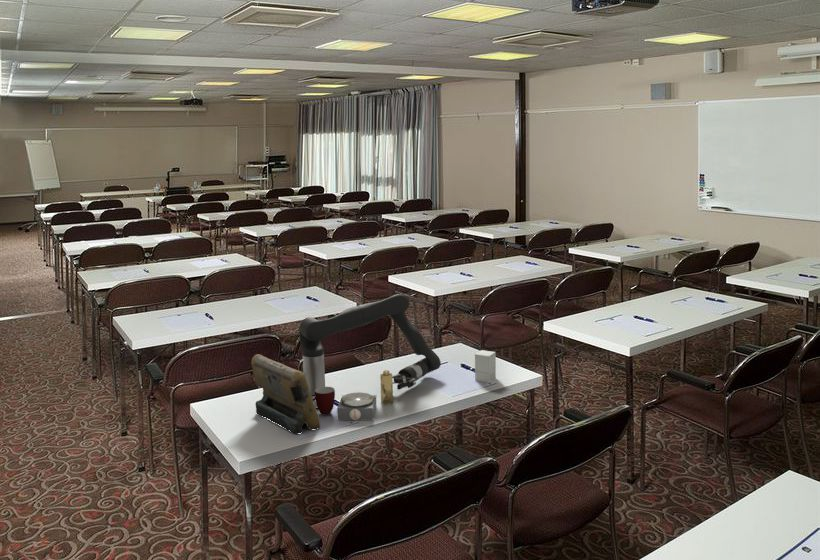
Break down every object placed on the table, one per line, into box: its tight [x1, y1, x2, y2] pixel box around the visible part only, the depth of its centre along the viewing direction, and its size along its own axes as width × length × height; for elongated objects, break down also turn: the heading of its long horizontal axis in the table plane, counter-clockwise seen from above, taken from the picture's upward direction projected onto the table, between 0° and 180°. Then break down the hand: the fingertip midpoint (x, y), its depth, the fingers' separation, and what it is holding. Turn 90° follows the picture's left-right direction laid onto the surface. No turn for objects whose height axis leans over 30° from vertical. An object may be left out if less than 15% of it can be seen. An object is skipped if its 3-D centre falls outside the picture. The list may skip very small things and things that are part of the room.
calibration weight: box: [379, 369, 394, 405], centre depth 284 cm, size 5×5×14 cm
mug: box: [312, 386, 336, 416], centre depth 273 cm, size 10×8×10 cm
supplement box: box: [474, 349, 497, 383], centre depth 309 cm, size 7×7×13 cm
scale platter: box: [340, 391, 373, 407], centre depth 273 cm, size 13×13×1 cm
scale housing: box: [336, 394, 377, 421], centre depth 273 cm, size 14×15×5 cm
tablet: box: [250, 353, 321, 435], centre depth 266 cm, size 33×14×25 cm, turn 48°
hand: (389, 385), depth 286 cm, fingers open, 8 cm apart
